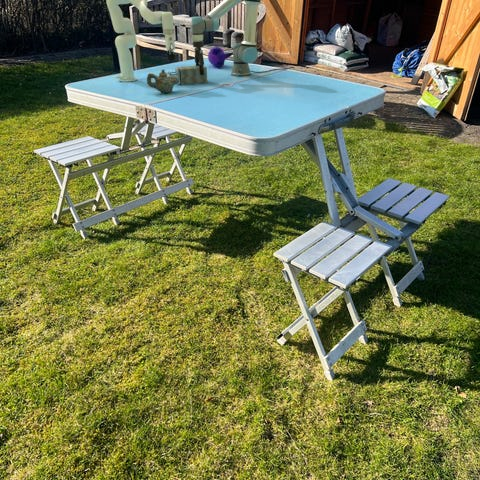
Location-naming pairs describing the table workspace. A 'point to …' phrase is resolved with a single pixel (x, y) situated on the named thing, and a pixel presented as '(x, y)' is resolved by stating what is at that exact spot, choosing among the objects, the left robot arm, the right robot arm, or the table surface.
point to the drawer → (176, 74)
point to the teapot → (162, 81)
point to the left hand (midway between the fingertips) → (171, 59)
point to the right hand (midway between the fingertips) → (200, 73)
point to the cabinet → (192, 75)
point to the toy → (218, 56)
